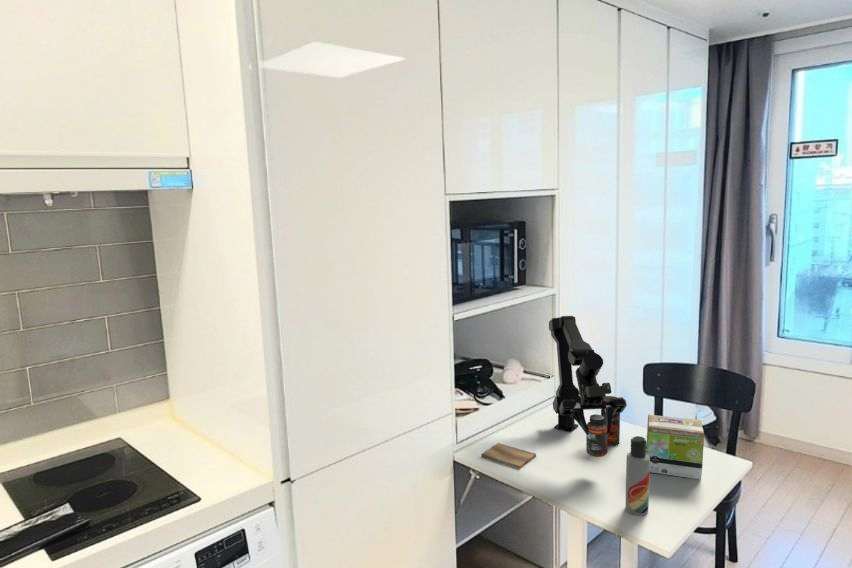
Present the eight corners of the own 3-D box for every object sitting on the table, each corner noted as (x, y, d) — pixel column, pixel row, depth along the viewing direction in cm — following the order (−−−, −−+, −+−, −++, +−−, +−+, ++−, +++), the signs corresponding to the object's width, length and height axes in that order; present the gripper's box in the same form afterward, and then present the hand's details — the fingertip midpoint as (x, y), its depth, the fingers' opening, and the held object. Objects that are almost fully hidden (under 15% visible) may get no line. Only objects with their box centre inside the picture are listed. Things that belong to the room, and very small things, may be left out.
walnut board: (498, 445, 192) (498, 442, 192) (535, 456, 184) (535, 453, 184) (481, 457, 185) (481, 454, 185) (520, 469, 176) (520, 466, 176)
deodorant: (621, 440, 193) (622, 397, 190) (616, 447, 188) (617, 403, 185) (603, 437, 196) (604, 394, 194) (598, 444, 191) (599, 400, 189)
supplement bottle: (604, 448, 173) (605, 412, 171) (609, 458, 167) (610, 421, 165) (584, 448, 174) (584, 412, 172) (587, 457, 168) (588, 420, 166)
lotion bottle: (645, 518, 148) (648, 444, 145) (623, 512, 151) (624, 440, 148) (650, 507, 153) (652, 436, 150) (628, 502, 156) (629, 431, 153)
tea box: (646, 473, 171) (647, 426, 168) (645, 458, 180) (647, 413, 178) (702, 480, 166) (704, 432, 163) (699, 464, 175) (701, 418, 173)
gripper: (561, 374, 170) (571, 424, 161) (625, 371, 170) (638, 422, 161) (555, 390, 179) (564, 439, 170) (615, 387, 179) (627, 436, 170)
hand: (598, 434), depth 168 cm, fingers closed on supplement bottle, 6 cm apart
